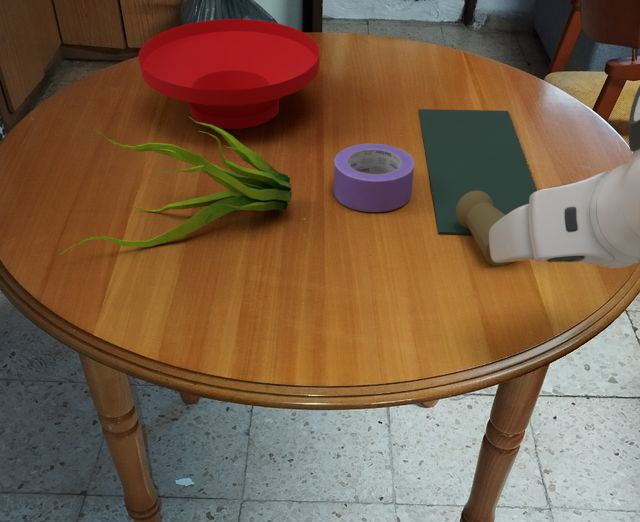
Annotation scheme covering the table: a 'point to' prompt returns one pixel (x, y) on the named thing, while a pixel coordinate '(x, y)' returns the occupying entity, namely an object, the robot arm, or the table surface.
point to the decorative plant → (244, 185)
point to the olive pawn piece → (479, 219)
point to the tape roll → (373, 177)
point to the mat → (473, 162)
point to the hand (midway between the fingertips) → (557, 248)
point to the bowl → (230, 68)
